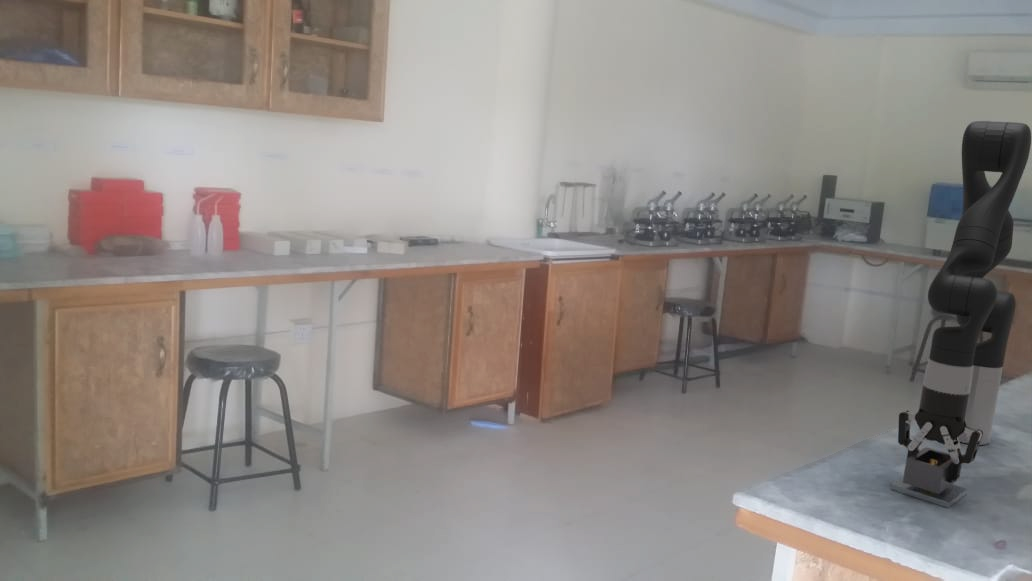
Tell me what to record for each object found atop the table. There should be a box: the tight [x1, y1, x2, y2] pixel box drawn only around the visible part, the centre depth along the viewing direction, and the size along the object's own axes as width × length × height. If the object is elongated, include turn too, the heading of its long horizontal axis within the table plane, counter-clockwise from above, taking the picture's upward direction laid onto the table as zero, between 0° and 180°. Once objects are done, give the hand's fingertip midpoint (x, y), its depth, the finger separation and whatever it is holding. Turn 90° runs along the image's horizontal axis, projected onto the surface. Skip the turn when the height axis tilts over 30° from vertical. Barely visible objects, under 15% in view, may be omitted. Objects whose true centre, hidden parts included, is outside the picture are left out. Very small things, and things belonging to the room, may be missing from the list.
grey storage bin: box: [903, 446, 958, 494], centre depth 161 cm, size 10×6×4 cm, turn 137°
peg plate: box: [889, 459, 968, 509], centre depth 161 cm, size 10×10×6 cm
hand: (931, 475), depth 161 cm, fingers closed on grey storage bin, 6 cm apart
